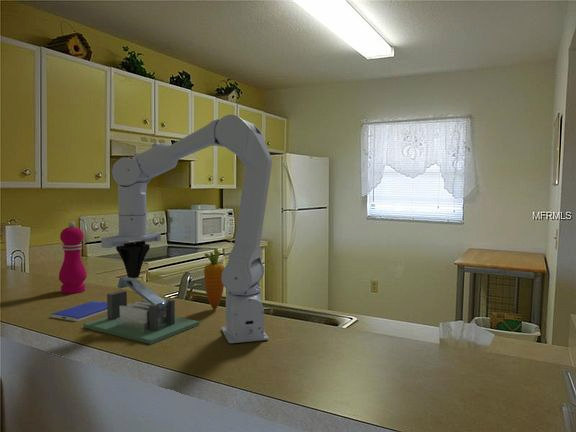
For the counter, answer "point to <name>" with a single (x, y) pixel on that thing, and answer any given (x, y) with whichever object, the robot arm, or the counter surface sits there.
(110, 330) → the motherboard
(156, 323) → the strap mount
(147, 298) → the metal bar
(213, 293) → the carrot
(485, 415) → the counter surface
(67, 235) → the pepper mill
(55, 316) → the hard drive
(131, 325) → the heat sink
